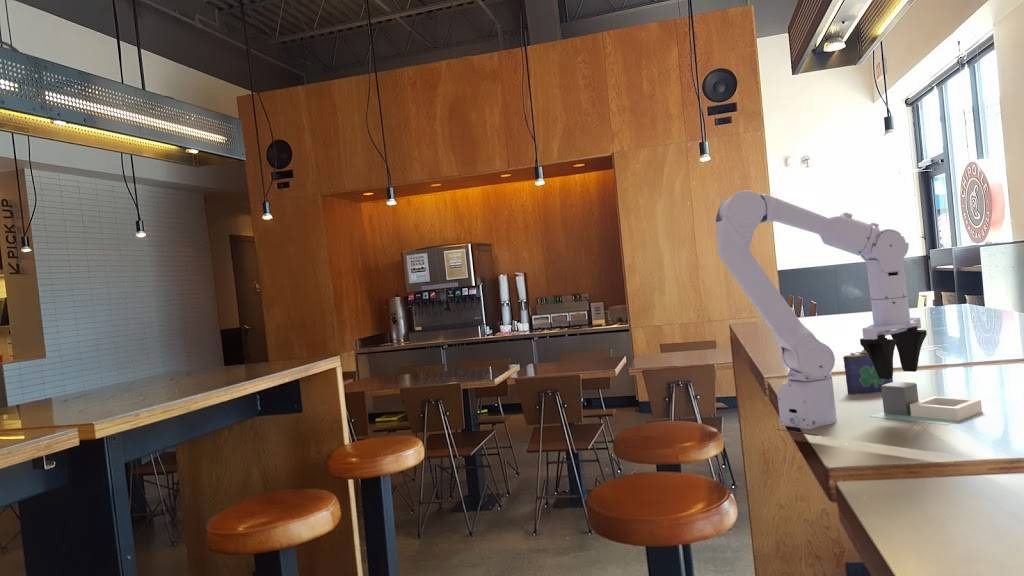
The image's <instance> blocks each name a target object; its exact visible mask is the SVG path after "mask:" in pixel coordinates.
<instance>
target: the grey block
mask: <svg viewBox="0 0 1024 576" xmlns="http://www.w3.org/2000/svg"><path fill="white" fill-rule="evenodd" d="M917 385H918V384H917V383H916V382H905V381H893V382H891V383H888V384H885V385H882V386H881V389H882V392H881V397H882V405H883V406H882V407H883V412H884V414H894V415H904V416H908V415H911V410H910V404H912V403H915V402H918V401H920V400H919V393H918V386H917Z"/></svg>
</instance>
